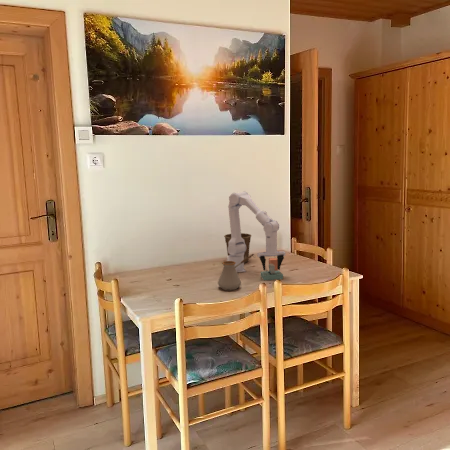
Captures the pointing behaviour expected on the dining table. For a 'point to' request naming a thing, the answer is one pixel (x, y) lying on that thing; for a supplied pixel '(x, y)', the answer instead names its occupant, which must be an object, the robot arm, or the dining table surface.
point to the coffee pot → (230, 275)
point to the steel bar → (271, 269)
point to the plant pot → (247, 242)
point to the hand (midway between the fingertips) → (271, 269)
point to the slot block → (267, 276)
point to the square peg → (273, 262)
